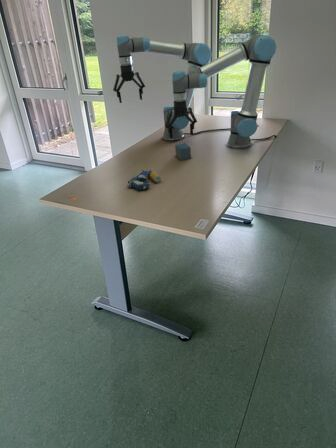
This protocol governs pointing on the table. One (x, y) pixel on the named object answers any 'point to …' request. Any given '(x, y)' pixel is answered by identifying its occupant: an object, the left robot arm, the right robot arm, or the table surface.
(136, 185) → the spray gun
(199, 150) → the table surface
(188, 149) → the brick
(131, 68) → the left robot arm
